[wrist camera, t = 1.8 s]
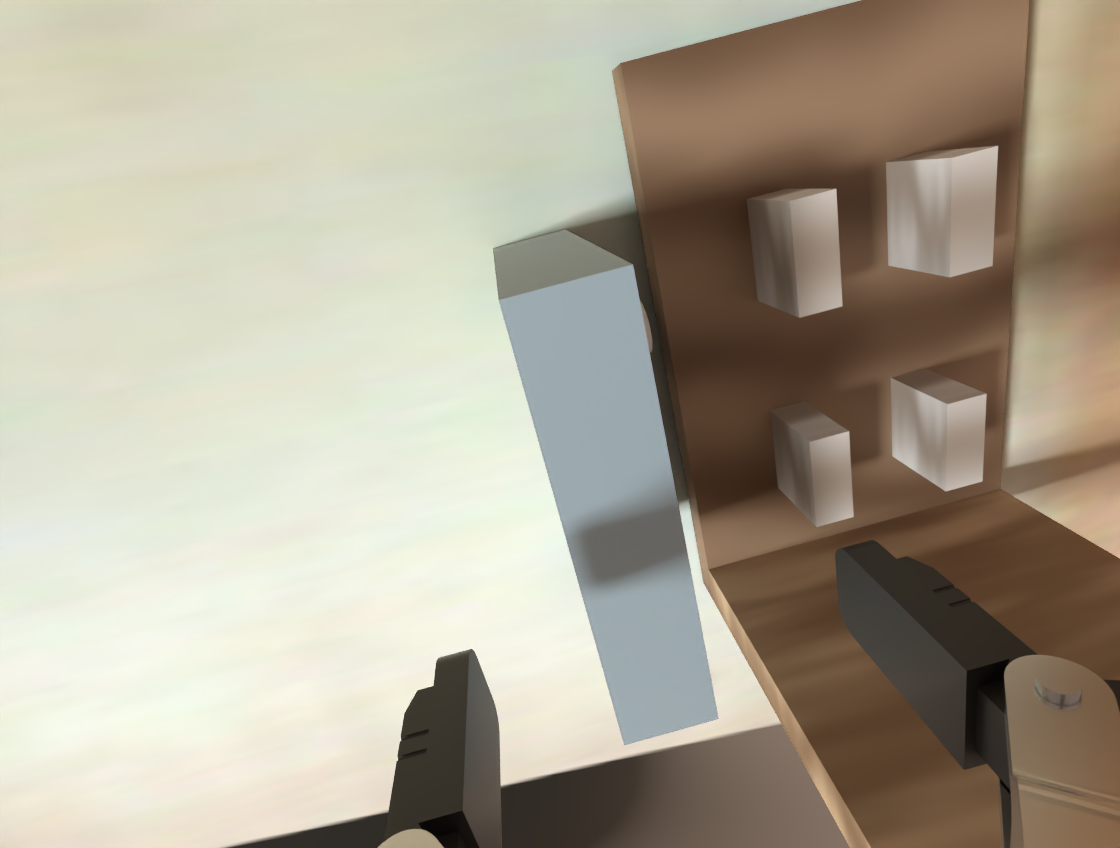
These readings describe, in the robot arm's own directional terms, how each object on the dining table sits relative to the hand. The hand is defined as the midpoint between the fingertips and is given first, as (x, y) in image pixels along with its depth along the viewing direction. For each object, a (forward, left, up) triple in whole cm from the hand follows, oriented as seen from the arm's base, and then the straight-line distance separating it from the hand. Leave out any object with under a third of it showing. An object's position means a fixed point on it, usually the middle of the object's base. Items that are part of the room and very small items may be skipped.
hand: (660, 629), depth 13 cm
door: (0, 0, -15) cm, 15 cm away
